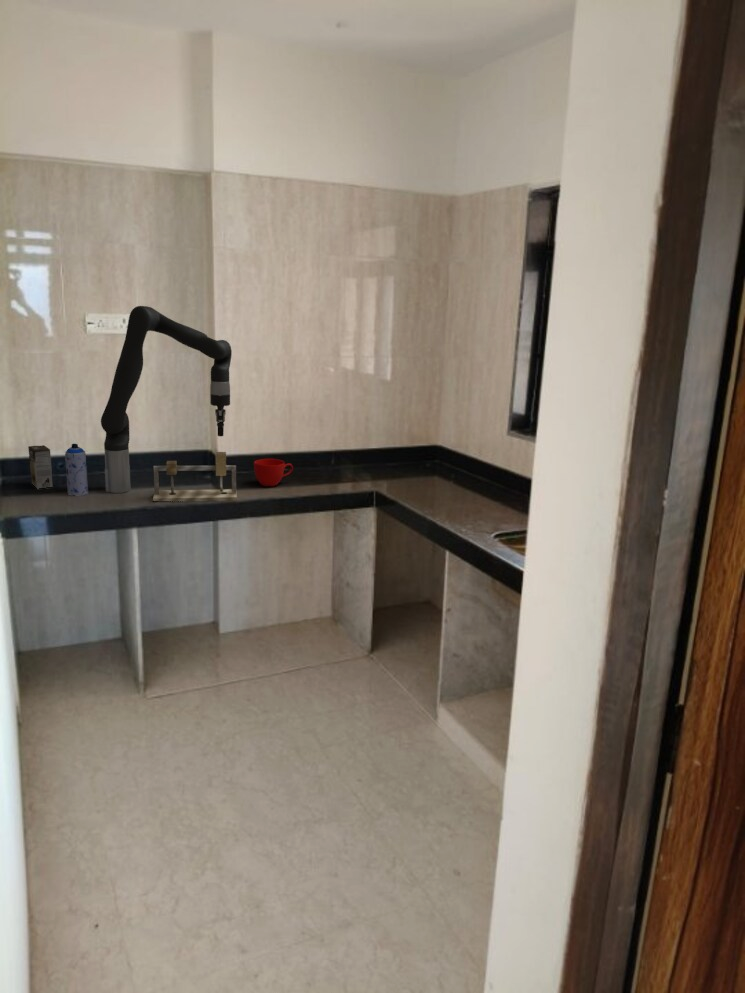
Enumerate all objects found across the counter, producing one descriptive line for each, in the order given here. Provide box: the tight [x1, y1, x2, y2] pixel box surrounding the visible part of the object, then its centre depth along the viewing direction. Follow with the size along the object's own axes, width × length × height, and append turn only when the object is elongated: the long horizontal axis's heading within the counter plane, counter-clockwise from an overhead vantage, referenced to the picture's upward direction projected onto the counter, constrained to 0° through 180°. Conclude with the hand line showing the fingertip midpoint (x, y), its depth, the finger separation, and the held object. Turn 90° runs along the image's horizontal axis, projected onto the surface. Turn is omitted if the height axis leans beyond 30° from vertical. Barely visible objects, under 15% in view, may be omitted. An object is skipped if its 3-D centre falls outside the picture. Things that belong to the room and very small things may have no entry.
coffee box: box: [28, 445, 54, 490], centre depth 303 cm, size 9×6×16 cm
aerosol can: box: [64, 443, 89, 496], centre depth 295 cm, size 8×8×20 cm
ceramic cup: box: [253, 458, 294, 487], centre depth 321 cm, size 13×17×10 cm
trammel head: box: [215, 451, 227, 492], centre depth 298 cm, size 4×5×16 cm
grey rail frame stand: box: [152, 460, 238, 503], centre depth 296 cm, size 32×12×14 cm, turn 101°
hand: (220, 434), depth 293 cm, fingers open, 8 cm apart
